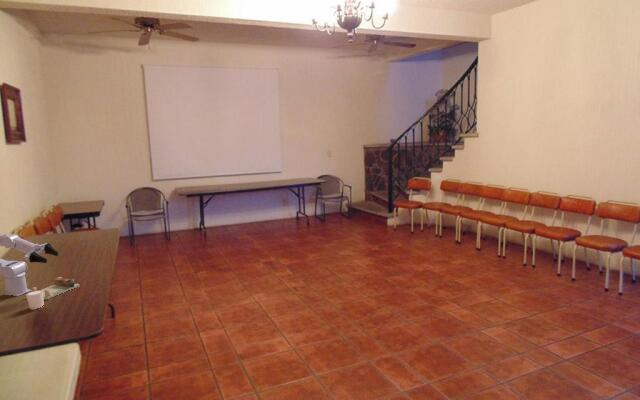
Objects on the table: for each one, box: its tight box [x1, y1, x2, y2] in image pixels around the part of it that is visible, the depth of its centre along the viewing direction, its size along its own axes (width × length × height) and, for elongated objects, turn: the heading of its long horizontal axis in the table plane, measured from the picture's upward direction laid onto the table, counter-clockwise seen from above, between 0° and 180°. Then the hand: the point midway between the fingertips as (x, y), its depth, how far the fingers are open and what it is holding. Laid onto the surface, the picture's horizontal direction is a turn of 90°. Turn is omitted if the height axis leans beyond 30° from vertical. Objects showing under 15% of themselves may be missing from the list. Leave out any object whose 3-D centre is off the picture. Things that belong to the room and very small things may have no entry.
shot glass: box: [25, 289, 45, 310], centre depth 207 cm, size 7×7×7 cm
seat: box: [30, 276, 81, 300], centre depth 226 cm, size 14×18×4 cm
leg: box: [53, 277, 76, 287], centre depth 231 cm, size 12×3×3 cm, turn 68°
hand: (52, 257), depth 222 cm, fingers open, 7 cm apart
